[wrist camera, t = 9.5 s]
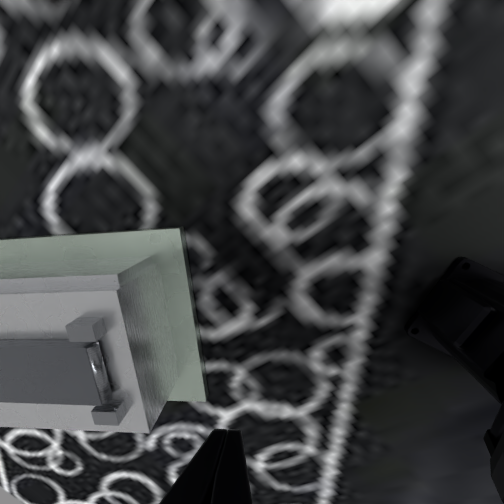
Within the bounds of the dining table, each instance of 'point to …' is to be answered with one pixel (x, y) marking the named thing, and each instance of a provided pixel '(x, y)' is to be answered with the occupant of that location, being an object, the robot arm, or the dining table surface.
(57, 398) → the dark grey flat bar
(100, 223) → the dining table surface
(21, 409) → the board
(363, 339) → the dining table surface
